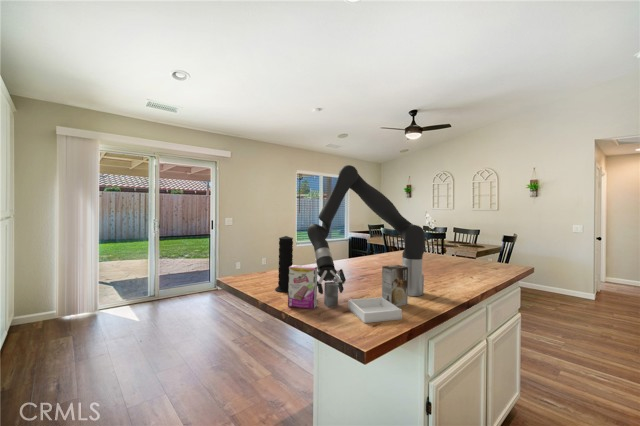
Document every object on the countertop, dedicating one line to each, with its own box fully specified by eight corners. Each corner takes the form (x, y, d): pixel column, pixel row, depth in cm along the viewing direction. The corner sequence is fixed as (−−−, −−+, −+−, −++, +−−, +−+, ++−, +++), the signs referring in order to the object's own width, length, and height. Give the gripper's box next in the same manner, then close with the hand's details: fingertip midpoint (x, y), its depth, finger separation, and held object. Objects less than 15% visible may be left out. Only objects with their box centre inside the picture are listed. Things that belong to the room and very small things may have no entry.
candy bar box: (287, 307, 113) (288, 266, 112) (291, 303, 118) (291, 264, 117) (314, 309, 110) (315, 268, 110) (317, 305, 115) (317, 266, 115)
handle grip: (271, 291, 133) (291, 293, 131) (272, 236, 133) (292, 237, 131) (279, 286, 143) (297, 287, 141) (279, 234, 143) (298, 235, 141)
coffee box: (397, 300, 124) (398, 264, 124) (407, 304, 119) (408, 267, 118) (381, 303, 120) (381, 265, 120) (391, 307, 114) (392, 268, 114)
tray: (381, 305, 117) (381, 297, 117) (401, 319, 103) (401, 309, 102) (348, 308, 113) (348, 299, 113) (364, 323, 98) (364, 313, 98)
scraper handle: (334, 302, 119) (334, 281, 119) (337, 306, 115) (338, 284, 115) (324, 303, 118) (324, 282, 118) (327, 307, 114) (327, 285, 114)
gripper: (310, 255, 122) (317, 289, 111) (341, 254, 126) (350, 287, 115) (307, 265, 127) (313, 298, 116) (337, 264, 131) (345, 296, 120)
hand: (331, 292), depth 115 cm, fingers open, 8 cm apart
